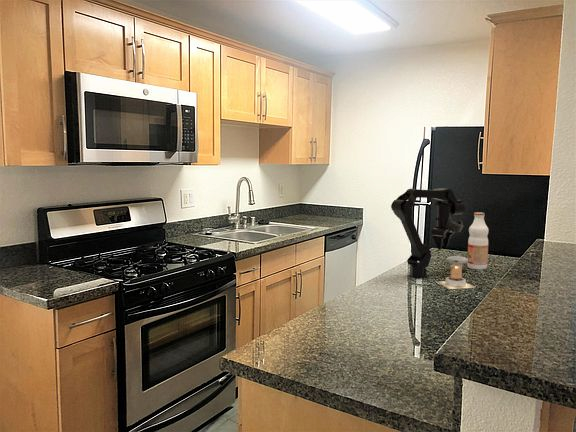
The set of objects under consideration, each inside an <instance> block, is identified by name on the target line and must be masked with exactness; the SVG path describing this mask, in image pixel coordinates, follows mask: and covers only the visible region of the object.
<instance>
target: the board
mask: <svg viewBox="0 0 576 432" xmlns="http://www.w3.org/2000/svg"><path fill="white" fill-rule="evenodd" d="M436 283H437V284H439V285H441V286H443V287H444V288H446V289H448V290H455V289H456V290H457V289H476V288H477V287H475V286H474V285H472V284H469V283H467V282H466V285H465V286H464V287H452V286H448V285H446V284H445V281H443V280H442V281H436Z"/></svg>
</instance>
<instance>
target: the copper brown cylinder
mask: <svg viewBox="0 0 576 432" xmlns="http://www.w3.org/2000/svg"><path fill="white" fill-rule="evenodd" d="M449 273H450V276H449V277H450V280H454V281H461V278H463V276H462V275H463V274H462V273H463V266H459V265H452V264H451V265H450V272H449Z"/></svg>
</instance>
